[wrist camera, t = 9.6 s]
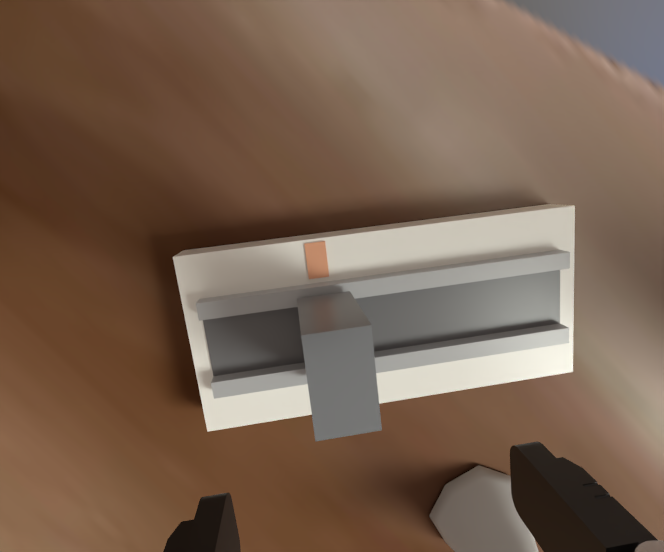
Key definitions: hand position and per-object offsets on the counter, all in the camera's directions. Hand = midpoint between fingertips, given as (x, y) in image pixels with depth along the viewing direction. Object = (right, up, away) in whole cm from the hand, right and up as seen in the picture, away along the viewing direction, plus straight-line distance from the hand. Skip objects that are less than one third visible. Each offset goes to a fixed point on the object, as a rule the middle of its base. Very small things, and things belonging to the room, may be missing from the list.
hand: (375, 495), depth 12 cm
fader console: (+2, +4, +16) cm, 17 cm away
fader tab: (-1, +3, +13) cm, 14 cm away
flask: (+10, -12, +21) cm, 26 cm away
